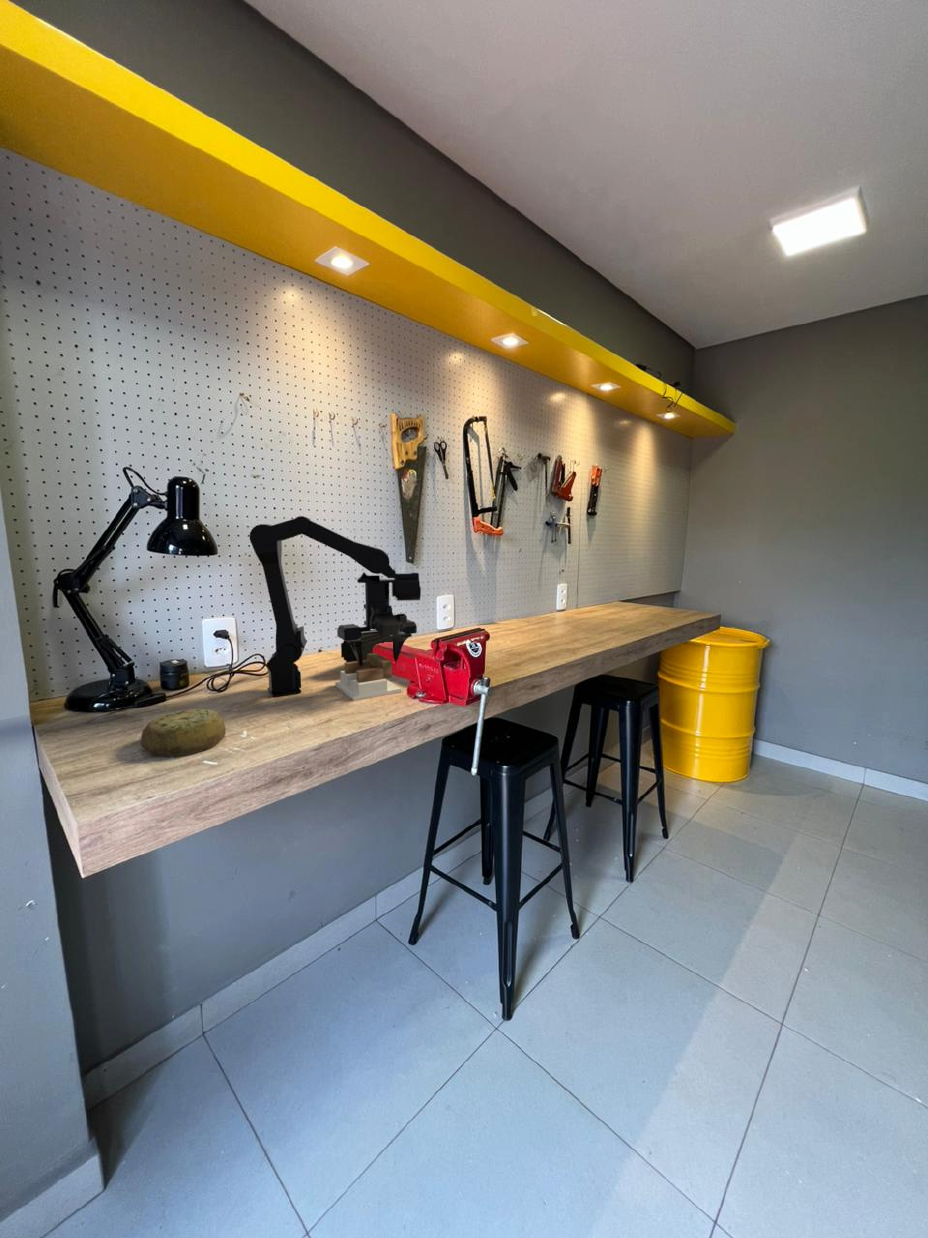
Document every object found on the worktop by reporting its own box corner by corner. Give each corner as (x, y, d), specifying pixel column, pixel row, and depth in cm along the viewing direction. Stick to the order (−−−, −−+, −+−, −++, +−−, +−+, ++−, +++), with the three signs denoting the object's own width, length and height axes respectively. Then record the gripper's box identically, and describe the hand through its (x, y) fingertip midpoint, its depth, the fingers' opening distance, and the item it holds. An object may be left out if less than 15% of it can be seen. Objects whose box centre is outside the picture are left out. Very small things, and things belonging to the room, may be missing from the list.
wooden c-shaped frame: (353, 700, 113) (353, 685, 112) (335, 685, 123) (334, 672, 123) (401, 692, 119) (401, 678, 118) (379, 678, 130) (379, 665, 129)
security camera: (399, 661, 147) (398, 628, 145) (361, 677, 130) (360, 641, 128) (379, 658, 149) (379, 626, 148) (340, 674, 133) (338, 638, 131)
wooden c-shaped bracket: (359, 682, 114) (358, 666, 114) (344, 672, 123) (344, 656, 122) (391, 677, 119) (391, 661, 118) (375, 667, 127) (375, 652, 126)
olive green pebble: (167, 728, 96) (164, 704, 95) (237, 727, 97) (236, 703, 96) (124, 760, 83) (121, 732, 82) (207, 759, 84) (205, 731, 83)
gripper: (352, 608, 107) (353, 677, 110) (427, 602, 117) (427, 666, 120) (335, 601, 117) (337, 665, 119) (406, 597, 127) (407, 656, 129)
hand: (378, 663), depth 122 cm, fingers open, 9 cm apart
